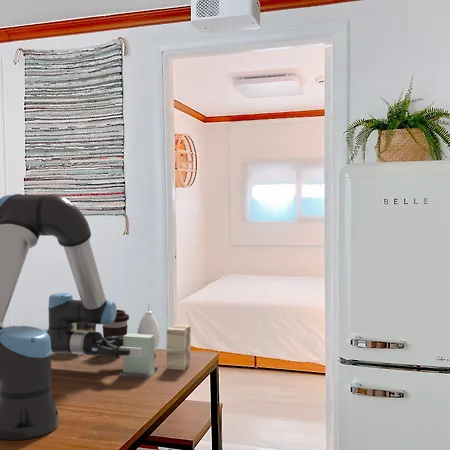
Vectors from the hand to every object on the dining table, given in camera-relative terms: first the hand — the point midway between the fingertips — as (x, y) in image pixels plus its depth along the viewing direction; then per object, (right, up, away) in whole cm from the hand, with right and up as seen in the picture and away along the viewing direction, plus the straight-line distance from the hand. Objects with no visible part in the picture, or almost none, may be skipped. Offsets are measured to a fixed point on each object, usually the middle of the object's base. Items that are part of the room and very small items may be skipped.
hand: (148, 347), depth 171 cm
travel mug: (-16, -8, +26) cm, 31 cm away
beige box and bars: (+2, -8, +4) cm, 9 cm away
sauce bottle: (-4, -8, +24) cm, 25 cm away
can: (-29, -8, +31) cm, 43 cm away
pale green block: (-3, -8, +1) cm, 9 cm away
